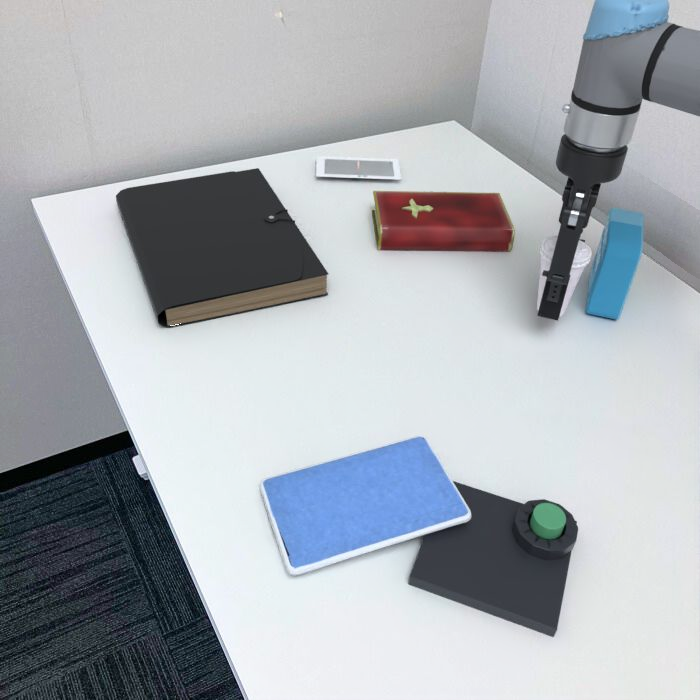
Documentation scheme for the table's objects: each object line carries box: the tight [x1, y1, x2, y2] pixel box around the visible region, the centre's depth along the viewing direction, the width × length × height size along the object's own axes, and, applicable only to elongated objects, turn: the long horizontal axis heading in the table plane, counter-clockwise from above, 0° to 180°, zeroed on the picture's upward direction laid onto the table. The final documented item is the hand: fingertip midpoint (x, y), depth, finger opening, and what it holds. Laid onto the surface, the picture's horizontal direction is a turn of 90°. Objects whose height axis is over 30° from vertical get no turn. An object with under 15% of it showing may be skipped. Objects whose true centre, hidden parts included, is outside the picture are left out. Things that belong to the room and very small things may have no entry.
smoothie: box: [536, 235, 593, 318], centre depth 96 cm, size 6×6×14 cm
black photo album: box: [115, 167, 329, 328], centre depth 113 cm, size 33×4×24 cm
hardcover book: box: [371, 190, 516, 253], centre depth 120 cm, size 12×21×4 cm, turn 93°
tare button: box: [530, 503, 566, 539], centre depth 74 cm, size 3×3×2 cm
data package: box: [585, 207, 645, 321], centre depth 106 cm, size 12×4×12 cm, turn 163°
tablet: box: [259, 435, 471, 577], centre depth 77 cm, size 19×13×1 cm, turn 109°
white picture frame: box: [315, 155, 402, 181], centre depth 134 cm, size 8×15×2 cm, turn 91°
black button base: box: [407, 480, 579, 638], centre depth 74 cm, size 14×13×3 cm
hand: (552, 301), depth 100 cm, fingers closed on smoothie, 6 cm apart
